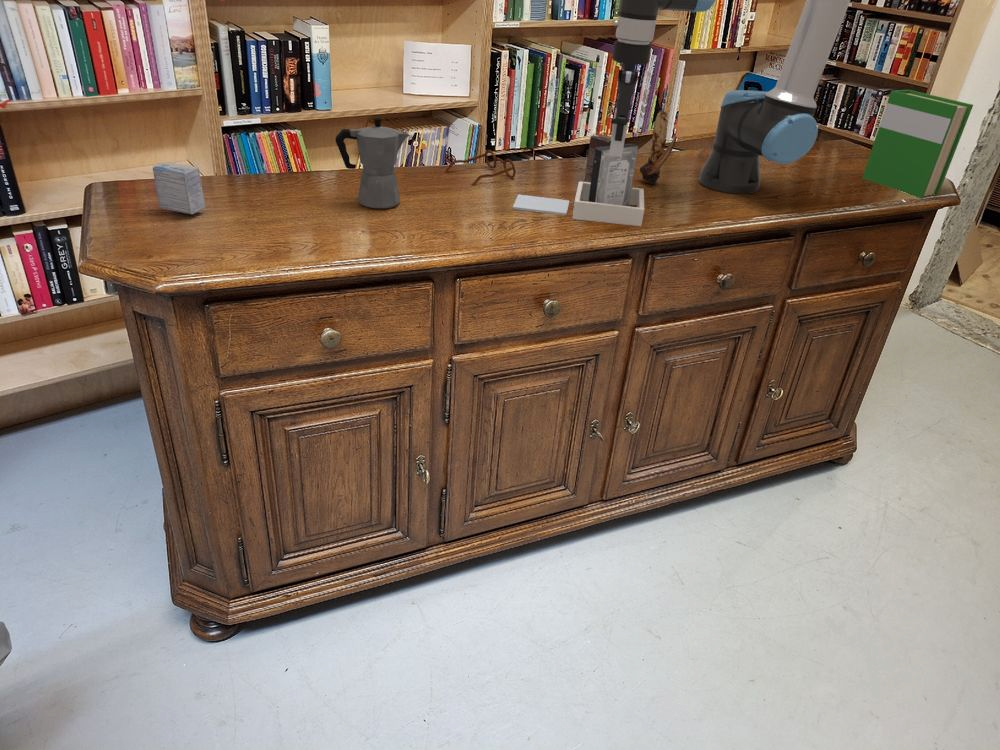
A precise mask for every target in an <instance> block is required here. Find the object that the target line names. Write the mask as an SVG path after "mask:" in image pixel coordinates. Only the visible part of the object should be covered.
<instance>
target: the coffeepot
mask: <svg viewBox="0 0 1000 750" xmlns="http://www.w3.org/2000/svg"><path fill="white" fill-rule="evenodd" d="M373 122H374V125H373V126H366V127H360V128H358V129H357V128H355V129H354V128H353V129H350V128H343V129H341V130H340V132H338V134H337V135H336V136H335V143H336V147H337V149H338V151H339V153H340V157H341V158H342V161H343V164H344V166H345V168H346V169H350V170H355V169H356V168H357V164H356V163H355V164H354V163H351V162H350V155H349V153H348V151H347V146H346V143H345V139H350V140H356V144H357V148H358V155H359V161H360V164H361V165H362V172H361V174H360V175H361V176H360V181H359V182H360V183H359V190H358V197H357V202H358V203H359V204H360V205H362V206H364V207H366V208H372V209H389V208H393V207H396V206H398V205H399V202H400V200H401V198H400V192H399V191H400V190H399V186H398V181H397V174H396V172H395V165H396V164H397V158H398V153H399V150H400V149H401V147H402V145H403V144H404V143H405V140H406V139H407V138H408V137H410V134H409V133H408V132H407V131H403V130H397V129H394V128H392V127H387V126H382V125H381V124H382V118H381V117H379V116H377V117H374V118H373Z"/></svg>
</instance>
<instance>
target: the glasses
mask: <svg viewBox="0 0 1000 750" xmlns="http://www.w3.org/2000/svg"><path fill="white" fill-rule="evenodd" d="M488 153H490V155H491V156H492V158H493V165H492V164H491V163H490V161H489V158H488ZM483 157H484V159H485V162H486V165H487V167H488V168H490V169H496V168H497V161H498V162H500V163H502V165H503V169H502V170H500V171H496V172H494V173H486V174H481V175H479V176H477V178H476V179H475V180H474V181H473V182H472V184H471V187H474V186H476V185H477V183H479V181H480V180H481V179H483V178H489V177H490V178H493V177H497V176H499V175H502V174H504V173H505V175H506V176H507V178H510V179H513V178H515V177H516V174H517V173H516V166H515V164H514V162H513V161H512V159H510V158H506V159H504V160H503V159H502V158H499V157H496V154H495V153H494V152H493V151H492V150H491V149H487V150H485V152H484V153H481V154H479V155H476V156H473V157H471V158H467V159H463V160H462V159H457V160H452V161H451V163H450V164H449V165H448V166H447V167H446V168H445V170H444V172H445V173H448V172H449V171H450V170H451V168H452V167H453V166H454V165H455V164H457V163H461V164H462V163H463V164H468V163H469V162H472V161H476V160H478V159H480V158H483ZM507 162H508V163H509V164H510V165H511V166H510V167H507ZM510 171H512V174H510V173H509V172H510Z"/></svg>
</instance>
